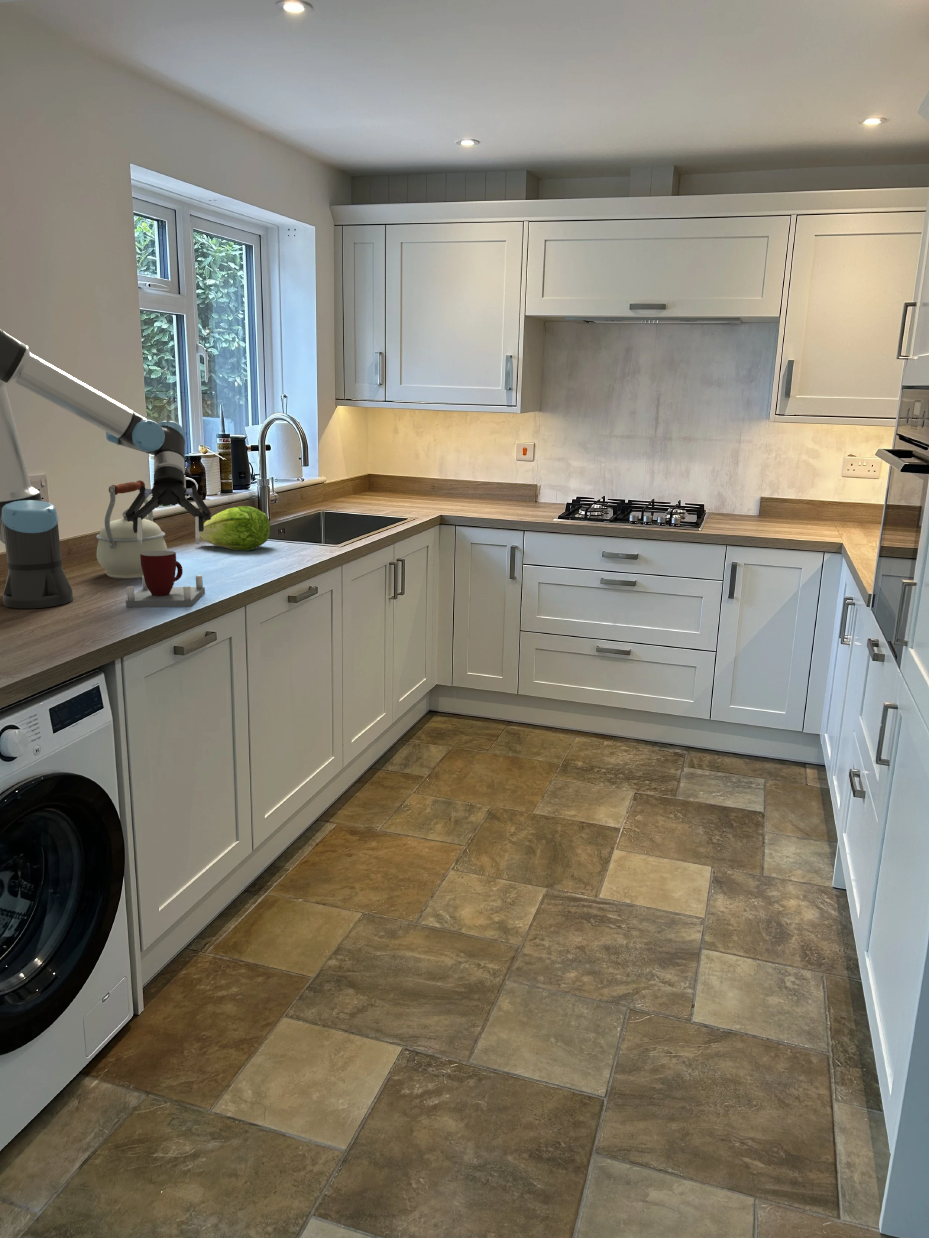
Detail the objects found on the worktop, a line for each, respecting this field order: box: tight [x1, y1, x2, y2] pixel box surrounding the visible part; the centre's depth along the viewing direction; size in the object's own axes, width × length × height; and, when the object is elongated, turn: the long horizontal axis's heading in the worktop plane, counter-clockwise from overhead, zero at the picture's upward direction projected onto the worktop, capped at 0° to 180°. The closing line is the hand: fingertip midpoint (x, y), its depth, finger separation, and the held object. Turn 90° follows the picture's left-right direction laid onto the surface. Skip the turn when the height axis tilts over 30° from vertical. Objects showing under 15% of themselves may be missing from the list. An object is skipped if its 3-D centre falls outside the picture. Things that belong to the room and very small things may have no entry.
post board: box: [125, 575, 206, 608], centre depth 223 cm, size 15×15×4 cm
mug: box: [140, 550, 184, 596], centre depth 222 cm, size 11×8×10 cm
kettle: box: [96, 479, 169, 580], centre depth 253 cm, size 25×18×25 cm
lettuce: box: [199, 505, 271, 552], centre depth 295 cm, size 14×24×15 cm
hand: (168, 541), depth 228 cm, fingers open, 13 cm apart
